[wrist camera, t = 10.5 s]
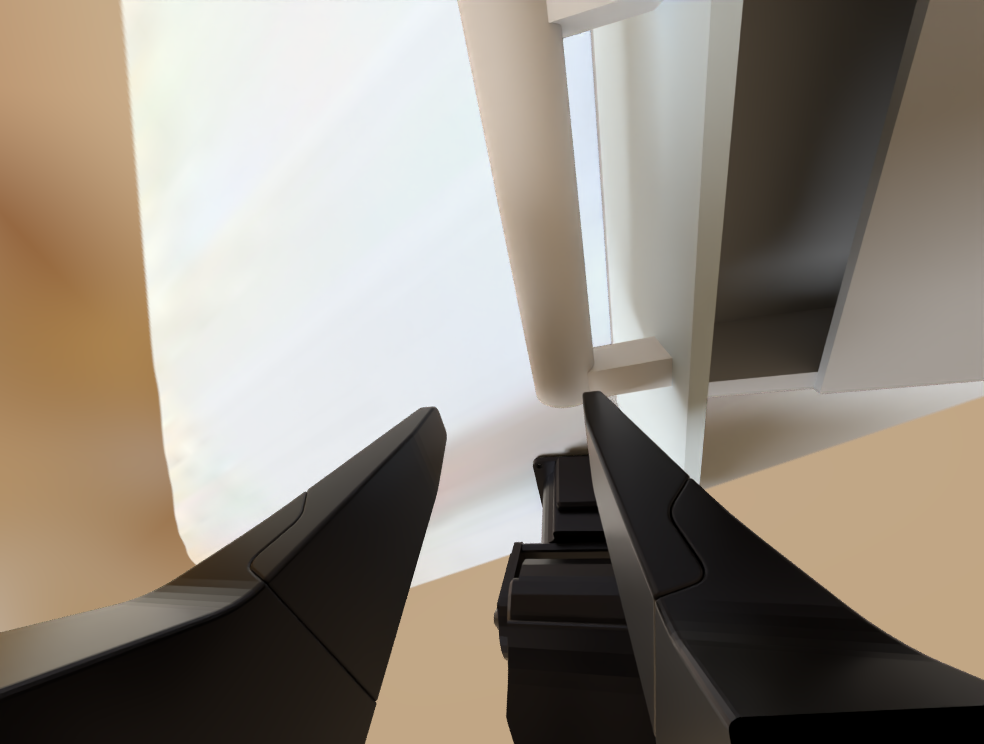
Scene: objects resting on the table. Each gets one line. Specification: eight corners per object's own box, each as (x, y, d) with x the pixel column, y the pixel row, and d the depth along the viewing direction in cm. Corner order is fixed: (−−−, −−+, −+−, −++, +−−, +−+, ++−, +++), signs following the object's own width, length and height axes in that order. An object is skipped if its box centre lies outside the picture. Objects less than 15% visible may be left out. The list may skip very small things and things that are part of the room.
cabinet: (904, 306, 18) (1054, 374, 12) (611, 343, 21) (630, 409, 16) (1150, -361, 9) (2039, -1124, 4) (580, -112, 12) (599, -311, 7)
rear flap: (694, 537, 10) (565, 551, 11) (626, 401, 16) (544, 414, 17) (908, -1836, 2) (209, -1183, 2) (593, -271, 7) (426, -200, 8)
